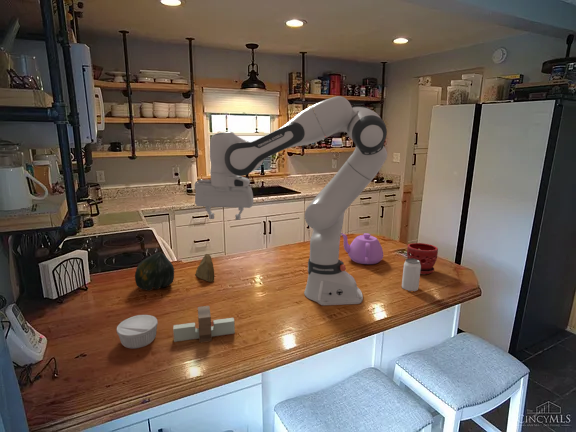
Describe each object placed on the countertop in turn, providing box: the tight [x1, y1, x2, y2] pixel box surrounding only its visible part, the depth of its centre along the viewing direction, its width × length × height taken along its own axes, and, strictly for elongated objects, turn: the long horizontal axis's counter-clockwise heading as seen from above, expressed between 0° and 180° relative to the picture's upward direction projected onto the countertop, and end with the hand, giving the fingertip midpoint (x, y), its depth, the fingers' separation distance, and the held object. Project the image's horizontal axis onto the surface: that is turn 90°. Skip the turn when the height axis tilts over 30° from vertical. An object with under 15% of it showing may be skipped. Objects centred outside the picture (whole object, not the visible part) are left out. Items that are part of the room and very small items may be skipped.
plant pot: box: [406, 242, 439, 275], centre depth 158 cm, size 13×13×12 cm
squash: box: [134, 252, 175, 291], centre depth 137 cm, size 14×15×15 cm
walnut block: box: [197, 305, 213, 343], centre depth 105 cm, size 7×4×8 cm, turn 16°
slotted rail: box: [172, 317, 236, 343], centre depth 105 cm, size 18×2×4 cm, turn 106°
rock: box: [194, 253, 215, 283], centre depth 146 cm, size 11×9×10 cm
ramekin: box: [116, 314, 159, 349], centre depth 103 cm, size 11×11×5 cm
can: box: [401, 258, 421, 292], centre depth 140 cm, size 6×6×12 cm
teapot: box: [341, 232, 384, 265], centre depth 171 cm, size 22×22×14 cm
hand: (224, 219), depth 122 cm, fingers open, 8 cm apart
